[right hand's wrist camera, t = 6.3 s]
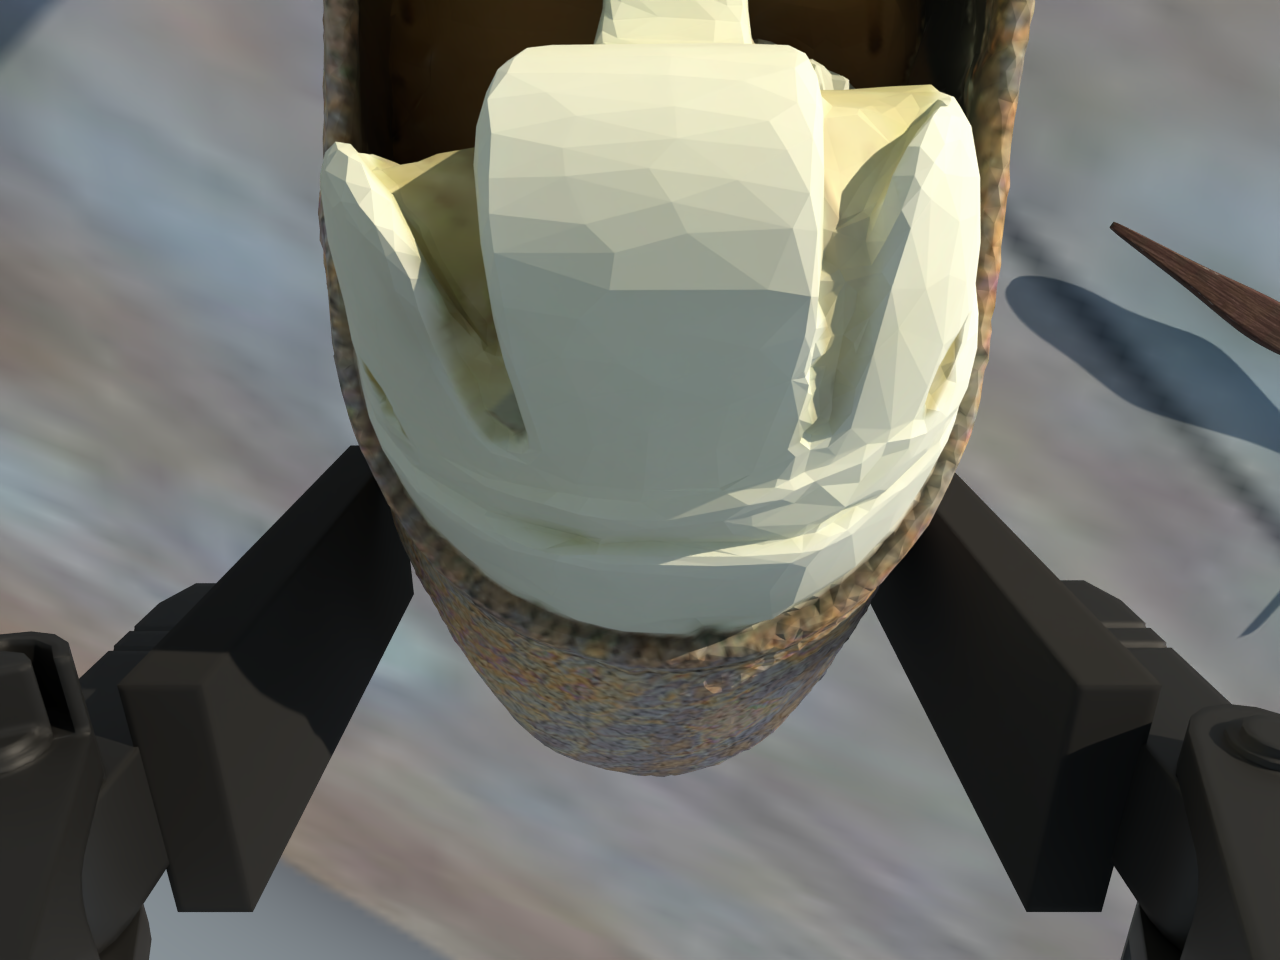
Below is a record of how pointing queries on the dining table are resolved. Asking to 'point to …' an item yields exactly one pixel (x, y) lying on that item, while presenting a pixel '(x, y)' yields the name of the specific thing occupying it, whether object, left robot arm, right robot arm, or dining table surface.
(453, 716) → the dining table surface
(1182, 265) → the fork
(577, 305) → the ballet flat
